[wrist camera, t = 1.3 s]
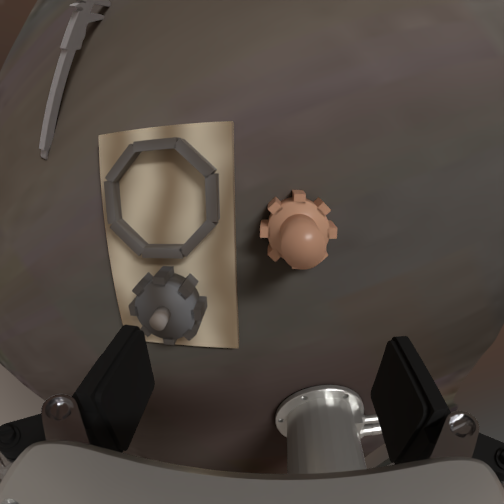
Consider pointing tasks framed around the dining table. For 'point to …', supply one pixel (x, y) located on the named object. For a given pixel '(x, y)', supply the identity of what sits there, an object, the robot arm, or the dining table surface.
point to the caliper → (66, 65)
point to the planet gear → (298, 230)
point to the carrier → (173, 231)
